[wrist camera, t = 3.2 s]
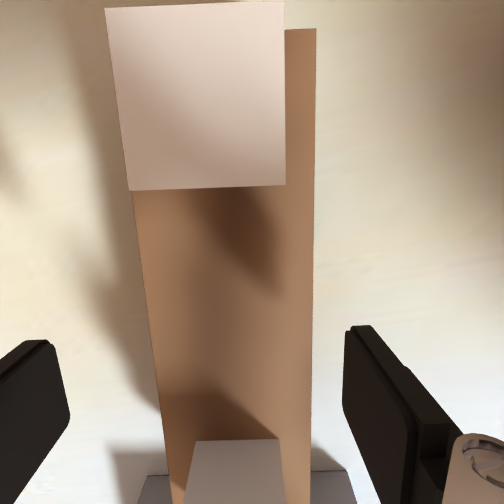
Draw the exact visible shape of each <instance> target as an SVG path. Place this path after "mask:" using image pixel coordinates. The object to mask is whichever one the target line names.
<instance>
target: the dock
mask: <svg viewBox="0 0 504 504" xmlns="http://www.w3.org/2000/svg"><path fill="white" fill-rule="evenodd" d="M138 504H173V501H172V493H171V486H170V478H169V476H147V478H146V481H145V484H144V486H143V489H142V492H141V495H140V498H139V501H138ZM310 504H357V501H356V498H355V495H354V492H353V489H352V486H351V482H350V479H349V476H348V473H347V471H323V472H310Z"/></svg>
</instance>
